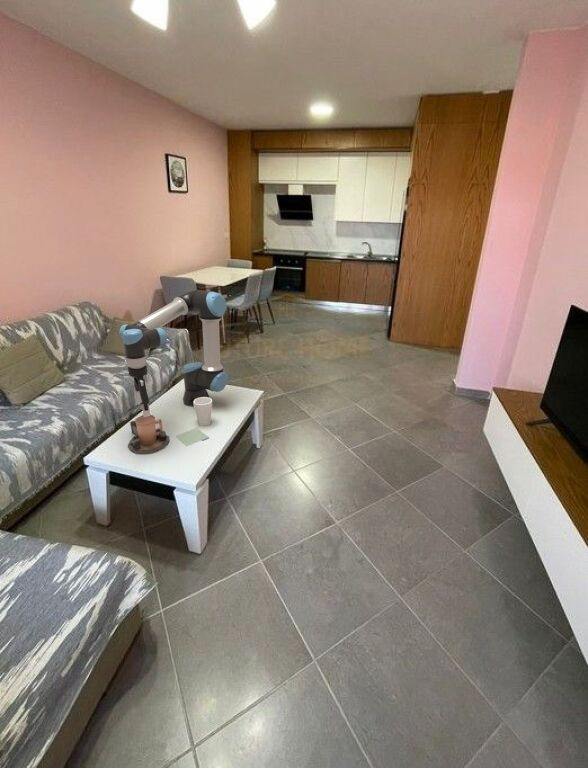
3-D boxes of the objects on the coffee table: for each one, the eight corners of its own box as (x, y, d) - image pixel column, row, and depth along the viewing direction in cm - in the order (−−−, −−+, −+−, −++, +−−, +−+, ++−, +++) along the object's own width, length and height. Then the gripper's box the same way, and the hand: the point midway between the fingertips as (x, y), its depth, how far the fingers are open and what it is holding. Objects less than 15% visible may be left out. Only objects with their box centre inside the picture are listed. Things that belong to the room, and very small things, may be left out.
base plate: (159, 430, 182) (159, 429, 182) (176, 445, 170) (176, 444, 170) (122, 443, 171) (122, 442, 171) (138, 460, 159) (137, 459, 159)
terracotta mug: (137, 438, 174) (134, 416, 169) (162, 433, 179) (159, 412, 174) (139, 447, 167) (135, 425, 162) (165, 442, 172) (162, 420, 167)
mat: (196, 428, 185) (196, 427, 185) (209, 438, 177) (209, 437, 177) (174, 436, 177) (174, 435, 177) (186, 447, 169) (186, 446, 169)
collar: (116, 437, 174) (114, 427, 171) (149, 424, 185) (148, 415, 183) (140, 457, 159) (139, 447, 157) (175, 442, 171) (173, 432, 169)
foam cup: (209, 428, 185) (207, 406, 180) (192, 426, 187) (190, 403, 182) (216, 419, 194) (214, 398, 189) (200, 417, 195) (198, 396, 190)
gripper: (123, 358, 163) (130, 400, 171) (132, 377, 143) (140, 423, 152) (140, 355, 166) (147, 397, 175) (152, 373, 147) (158, 419, 155)
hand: (143, 409), depth 163 cm, fingers open, 13 cm apart
